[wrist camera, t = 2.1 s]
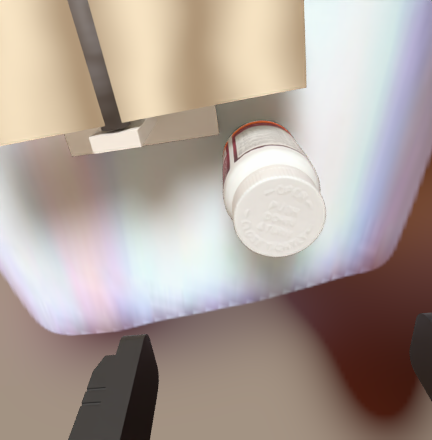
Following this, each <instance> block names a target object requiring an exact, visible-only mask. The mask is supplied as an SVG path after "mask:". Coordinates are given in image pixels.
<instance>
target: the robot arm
mask: <svg viewBox="0 0 432 440" xmlns="http://www.w3.org/2000/svg"><path fill="white" fill-rule="evenodd" d="M410 360H411V364H412V367H413V369H414V371H415V373H416V375H417V377H418V378H419V380H420V382H421V384H422V385H423V387H424V389H425V390H426V392H427V394H428V395H429V397H430V399H431V401H432V313H422V314H419V315H418V316H417V318H416V322H415V327H414V332H413V336H412V341H411V346H410ZM158 378H159V376H158V367H157V363H156V360H155V356H154V353H153V349H152V345H151V342H150V338H149V336H148V335H147V334H145V335H132V336H123V337H122V338H121V340H120V343H119V346H118V350H117V353H116V355H109V356H105V357H104V358H103V359H102V361H101V362H100V363H99V364H98V366H97V367H96V368H95V369H94V371H93V373H92V376H91V378H90V381H89V384H88V387H87V392H85V395H84V398H83V400H82V406H81V407H80V409H79V412H78V414H77V417H76V420H75V423H74V425H73V428H72V431H71V434H70V436H69V439H68V440H150V435H151V429H152V423H153V417H154V411H155V405H156V399H157V392H158V384H159V383H158V382H159V379H158Z"/></svg>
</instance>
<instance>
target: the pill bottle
mask: <svg viewBox="0 0 432 440" xmlns="http://www.w3.org/2000/svg"><path fill="white" fill-rule="evenodd" d="M222 164H223V199H224V203H225V207H226V210H227V212H228V214H229V216H230V217H231V219H232V220H233V223H234V228H235V231H236V234H237V236H238V237H239V239H240V240H241V242H242V243H243V244H244V245H245V246H246V247H247V248H249V249H250V250H252V251H253V252H255V253H258V254H260V255H264V256H269V257H284V256H289V255H293V254H295V253H298V252H300V251H302V250H304V249H305V248H307V247H308V246H309V245H310V244H312V243H313V242H314V241H315V240H316V238H317V237H318V236H319V234H320V233H321V231H322V229H323V226H324V223H325V218H326V208H325V203H324V200H323V198H322V196H321V194H320V182H319V178H318V175H317V173H316V170H315V168H314V167H313V165H312V164H311V162H310V161H309V159H308V158H307V156H306V155H305V153H304V152H303V150H302V149H301V148H300V146H299V145H298V144H297V142H296V141H295V139H294V138H293V136H292V135H291V134H290V133H289V132H288V131H287V130H286V129H285V128H284V127H283V126H281V125H279V124H277V123H275V122H272V121H267V120H257V121H252V122H248V123H246V124H244V125H242V126H240V127H239V128H238V129H236V130H235V131H234V132H233V133H232V135H231V136H230V137H229V139H228V140H227V142H226V144H225V147H224V151H223V160H222Z"/></svg>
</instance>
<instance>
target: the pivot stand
mask: <svg viewBox="0 0 432 440" xmlns="http://www.w3.org/2000/svg"><path fill="white" fill-rule="evenodd" d="M130 123H131V124H130V125H129V126H127V127H124V128H121V129H117V130H112V131H102V130H101V127H98V128H93V129H87V130H82V131H77V132H72V133H67V134H64V136H65V139H66V142H67V144H68V147H69V150H70V153H71V155H72V157H74V156H81V155H87V154H97V153H103V152H110V151H117V150H123V149H130V148H137V147H142V146H147V145H154V144H160V143H167V142H173V141H180V140H187V139H193V138H200V137H207V136H213V135H219V127H218V120H217V114H216V107H215V105H212V106H207V107H202V108H197V109H192V110H186V111H181V112H176V113H171V114H165V115H160V116H155V117H150V118H145V119H139V120H134V121H130Z"/></svg>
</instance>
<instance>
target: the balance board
mask: <svg viewBox="0 0 432 440" xmlns="http://www.w3.org/2000/svg"><path fill="white" fill-rule="evenodd" d="M301 88H306V56H305V22H304V0H0V146H4V145H9V144H14V143H20V142H25V141H30V140H35V139H40V138H46V137H51V136H56V135H61V134H67V133H72V132H77V131H82V130H87V129H93V128H98V127H101V130H102V131H112V130H117V129H121V128H124V127H127V126H129V125H130V124H131V123H130V121H134V120H139V119H145V118H150V117H155V116H160V115H165V114H171V113H176V112H181V111H186V110H192V109H197V108H202V107H207V106H212V105H218V104H223V103H228V102H233V101H238V100H244V99H249V98H254V97H259V96H264V95H270V94H275V93H280V92H285V91H290V90H296V89H301Z"/></svg>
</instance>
